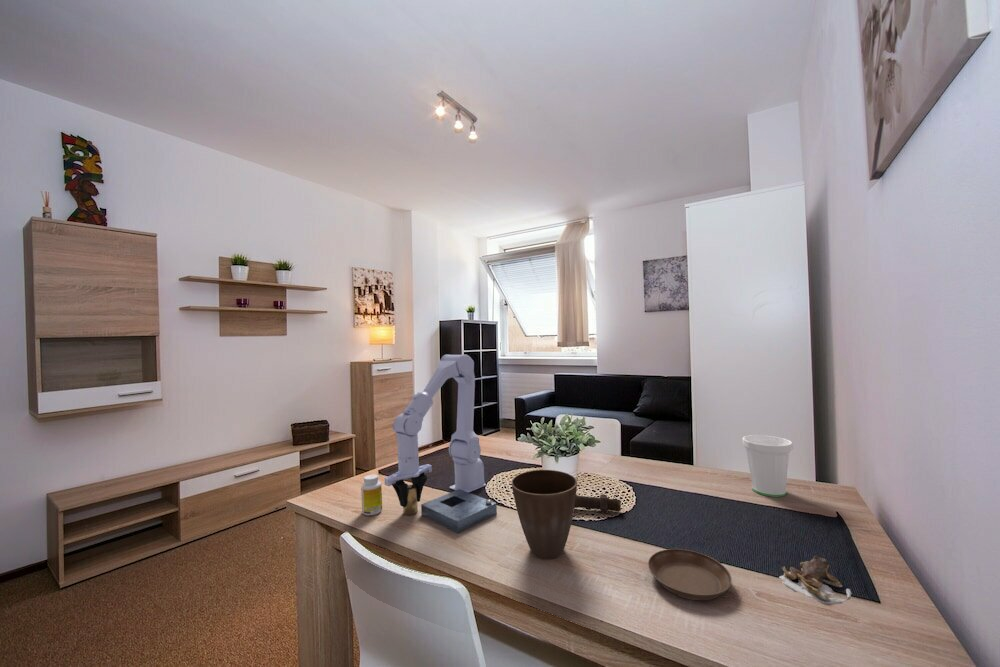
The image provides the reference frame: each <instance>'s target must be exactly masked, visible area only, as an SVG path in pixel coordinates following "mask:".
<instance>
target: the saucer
mask: <svg viewBox="0 0 1000 667" xmlns="http://www.w3.org/2000/svg"><path fill="white" fill-rule="evenodd" d="M647 565H648V566H647V567H648V569H649V571H650V573H651V574H652V576H653V577H654V579H655V580H656V581H657V582H658V583H659V584H660V586H662V587H664V589H666V590H667V591H668V592H670V593H672V594H674V595H676V596H678V597H680V598H684V599H687V600H692V601H709V600H713V599H715V598H717V597H720V596H721V595H723V594H725V593H726V592H727V591H728V590H729V588H730V587H731V585H732V582H733V581H732V578H733V577H732V576H731V573H730V572H729V570H728V569H727V567H726V566H725V565H723V564H722V563H721V562H720V561H718V560H716V559H715V558H713V557H711V556H708V555H706V554H705V553H701V552H697V551H694V550H689V549H684V548H668V549H667V548H666V549H662V550H659V551H656V552H655V553H653V554H652V555H651V556H650V557H649V559H648V560H647Z"/></svg>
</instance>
